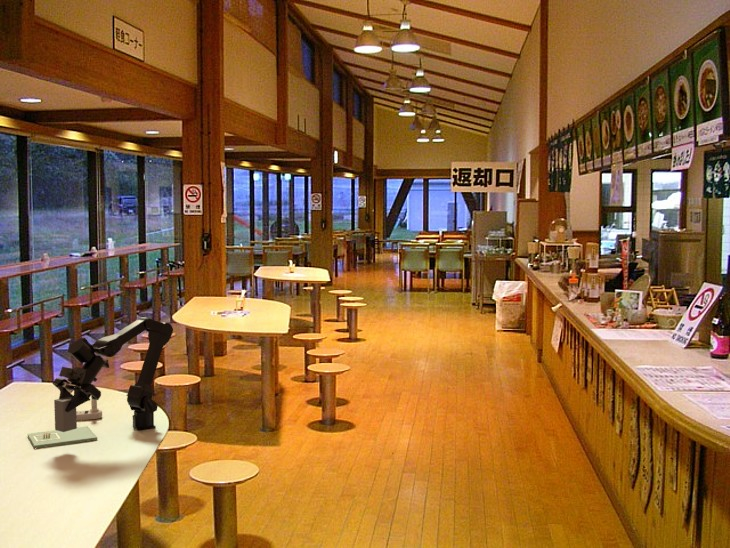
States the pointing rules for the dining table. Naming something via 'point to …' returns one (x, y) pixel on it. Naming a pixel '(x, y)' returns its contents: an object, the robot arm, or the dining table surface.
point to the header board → (61, 437)
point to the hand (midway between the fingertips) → (61, 410)
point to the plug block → (64, 415)
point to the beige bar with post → (89, 412)
